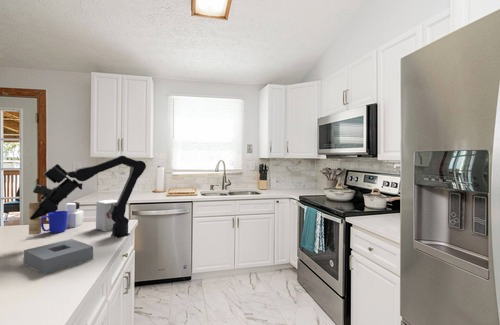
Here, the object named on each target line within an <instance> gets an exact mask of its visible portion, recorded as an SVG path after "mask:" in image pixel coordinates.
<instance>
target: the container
mask: <svg viewBox="0 0 500 325" xmlns="http://www.w3.org/2000/svg"><path fill="white" fill-rule="evenodd" d="M64 211H67V212H68V215H67V225H66V228H76V227H79V226H81V225H83V224H84V210H80V202H78V201H70V202H67V203H65V210H64Z"/></svg>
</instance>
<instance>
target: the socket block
mask: <svg viewBox="0 0 500 325" xmlns="http://www.w3.org/2000/svg"><path fill="white" fill-rule="evenodd" d="M91 260H94V246H93V245H90V244H87V243H85V242H82V241H79V240H76V239H74V238H70V239H65V240H60V241H57V242H52V243H48V244H43V245H41V246H40V245H39V246H36V247H32V248H27V249H24V250H23V264H24V265H26V266H28V267H29V268H31V269H33V270H35V271H37V272H39V273H41V274H43V275H47V274H51V273H55V272H58V271H60V270H62V269H66V268H69V267H73V266H75V265H79V264H81V263H82V264H83V263H84V262H87V261H88V262H89V261H91Z"/></svg>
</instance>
